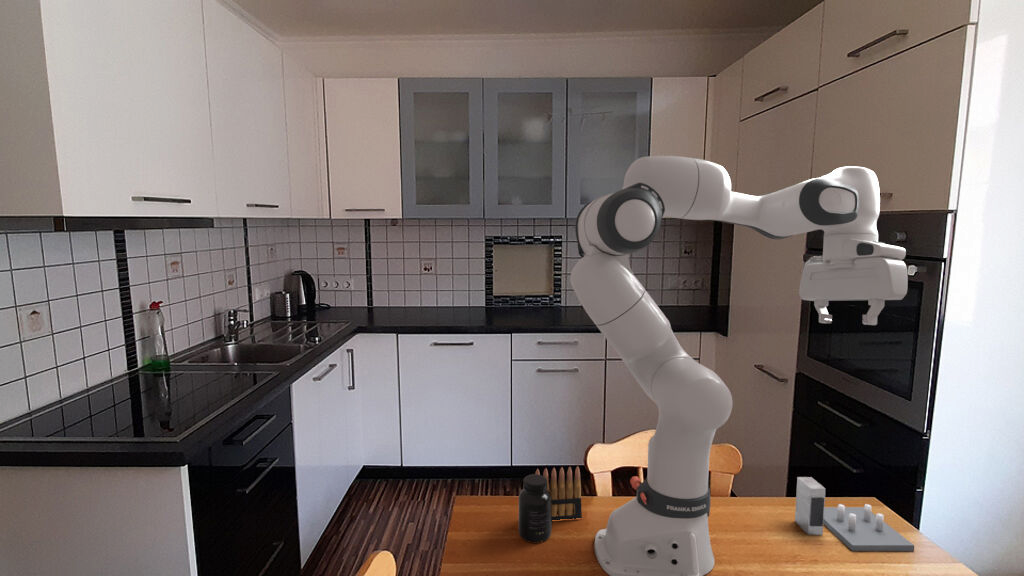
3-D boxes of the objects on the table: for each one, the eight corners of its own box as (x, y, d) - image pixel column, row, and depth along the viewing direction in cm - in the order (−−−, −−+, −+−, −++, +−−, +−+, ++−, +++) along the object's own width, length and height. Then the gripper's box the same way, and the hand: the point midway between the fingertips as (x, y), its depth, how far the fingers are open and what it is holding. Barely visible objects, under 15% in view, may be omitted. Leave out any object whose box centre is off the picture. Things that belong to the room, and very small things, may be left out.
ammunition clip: (579, 514, 113) (580, 463, 112) (581, 519, 111) (583, 467, 110) (532, 518, 112) (532, 466, 110) (533, 523, 110) (534, 471, 108)
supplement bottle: (514, 527, 108) (515, 473, 107) (545, 523, 110) (546, 469, 109) (523, 546, 102) (524, 489, 100) (556, 541, 103) (556, 485, 102)
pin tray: (852, 551, 100) (853, 529, 99) (811, 512, 114) (812, 493, 113) (913, 551, 100) (915, 529, 99) (865, 512, 114) (866, 493, 113)
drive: (808, 535, 105) (811, 489, 104) (794, 521, 110) (797, 477, 109) (823, 535, 105) (826, 489, 104) (808, 521, 110) (811, 477, 109)
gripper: (793, 255, 108) (789, 321, 107) (888, 244, 88) (884, 324, 87) (817, 259, 109) (814, 323, 108) (915, 248, 90) (912, 327, 89)
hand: (846, 324), depth 98 cm, fingers open, 8 cm apart
